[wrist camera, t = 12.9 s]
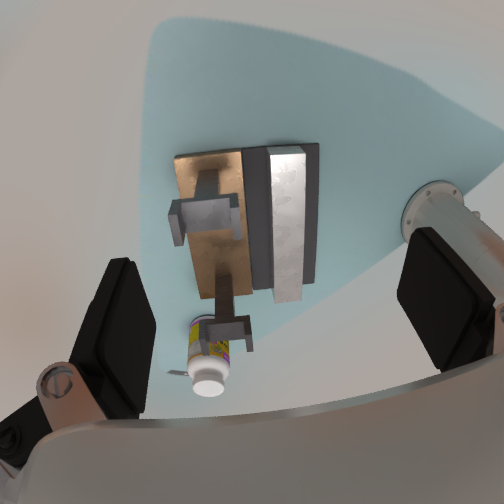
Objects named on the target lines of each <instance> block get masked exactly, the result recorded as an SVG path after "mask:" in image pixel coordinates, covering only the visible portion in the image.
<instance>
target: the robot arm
mask: <svg viewBox="0 0 504 504" xmlns="http://www.w3.org/2000/svg"><path fill="white" fill-rule="evenodd" d="M401 229H402V235H403V237H404V240H405V241H406V242H407V244H408V249H407V253H406V258H405V262H404V266H403V270H402V274H401V278H400V282H399V286H398V289H397V299H398V301H399V303H400V305H401V306H402V308H403V309H404V311H405V313H406V315H407V316H408V318H409V320H410V321H411V323H412V325H413V327H414V329H415V330H416V332H417V334H418V336H419V338H420V339H421V341H422V343H423V345H424V347H425V349H426V350H427V352H428V354H429V356H430V358H431V360H432V362H433V364H434V366H435V367H436V368H437V369H440V371H441V374H438V375H434V376H431V377H428V378H425V379H421V380H418V381H415V382H411V383H408V384H404V385H401V386H397V387H393V388H390V389H386V390H382V391H378V392H374V393H370V394H365V395H361V396H357V397H352V398H347V399H343V400H338V401H333V402H328V403H322V404H316V405H311V406H305V407H298V408H292V409H285V410H278V411H270V412H262V413H253V414H243V415H232V416H218V417H201V418H179V419H139V414H140V413H143V412H144V410H145V403H146V394H147V387H148V380H149V373H150V365H151V358H152V352H153V346H154V340H155V334H156V321H155V318H154V315H153V313H152V310H151V307H150V304H149V302H148V299H147V296H146V293H145V290H144V287H143V284H142V281H141V278H140V275H139V272H138V269H137V266H136V264H135V262H134V261H130V260H129V258H127V257H125V258H116V259H111V260H110V262H109V264H108V266H107V268H106V271H105V273H104V275H103V278H102V280H101V282H100V284H99V287H98V289H97V292H96V294H95V296H94V299H93V301H91V303H90V305H89V307H88V310H87V313H86V315H85V318H84V320H83V323H82V325H81V328H80V331H79V333H78V336H77V339H76V341H75V344H74V347H73V350H72V353H71V356H70V359H69V362H57V363H54V364H52V365H49V366H48V367H47V368H46V369H44V371H43V372H42V373H41V374H40V376H39V378H38V380H37V385H36V390H37V396H36V397H35V398H33V399H32V400H31V401H29V402H27V403H26V404H25V405H23V406H22V407H21V408H19V409H18V410H16V411H15V412H14V413H12V414H11V415H10V416H8V417H7V418H5V419H4V420H3V421H1V422H0V504H504V240H502V238H501V237H500V236H498V235H497V234H496V233H495V232H494V231H493V230H492V229H491V228H490V227H488V226H487V225H486V224H485V223H484V222H483V221H481V220H480V213H479V212H478V211H475V212H471V211H470V210H469V209H468V208H467V207H465V206H464V200H463V197H462V194H461V193H460V191H459V190H458V189H457V188H456V187H455V186H453V185H452V184H450V183H448V182H444V181H436V182H432V183H430V184H428V185H425V186H424V187H423V188H421V189H420V190H419V191H418V192H417V193H415V194H414V196H413V197H412V198H411V200H410V201H409V203H408V204H407V206H406V208H405V211H404V213H403V217H402V224H401Z"/></svg>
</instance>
